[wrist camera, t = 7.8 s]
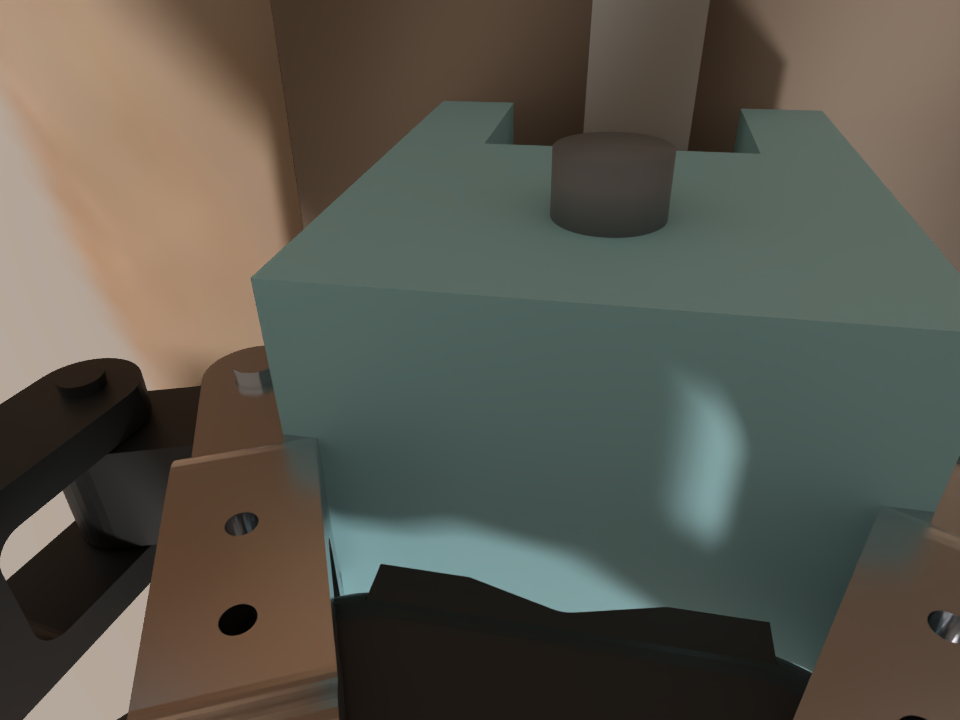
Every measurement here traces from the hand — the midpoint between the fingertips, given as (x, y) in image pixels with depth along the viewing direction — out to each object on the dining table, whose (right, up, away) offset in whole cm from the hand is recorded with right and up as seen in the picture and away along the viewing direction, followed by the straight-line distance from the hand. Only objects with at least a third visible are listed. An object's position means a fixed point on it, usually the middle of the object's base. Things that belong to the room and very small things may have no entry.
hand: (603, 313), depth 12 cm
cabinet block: (0, +1, +1) cm, 2 cm away
